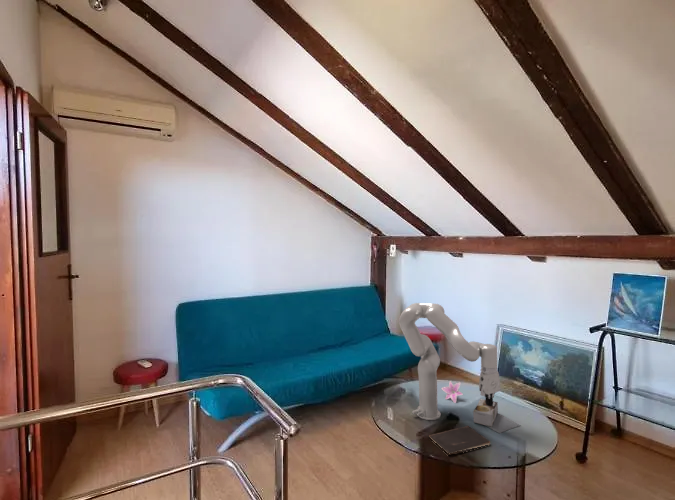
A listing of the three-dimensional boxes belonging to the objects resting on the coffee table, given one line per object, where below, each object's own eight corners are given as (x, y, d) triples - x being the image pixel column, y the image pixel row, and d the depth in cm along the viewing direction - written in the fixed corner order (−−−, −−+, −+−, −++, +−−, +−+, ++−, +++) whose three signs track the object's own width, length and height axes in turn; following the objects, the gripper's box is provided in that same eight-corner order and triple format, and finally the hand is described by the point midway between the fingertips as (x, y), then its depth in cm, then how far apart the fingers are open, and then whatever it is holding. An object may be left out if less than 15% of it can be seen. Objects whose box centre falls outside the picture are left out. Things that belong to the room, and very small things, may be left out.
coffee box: (492, 427, 189) (498, 413, 202) (491, 414, 189) (498, 401, 202) (473, 422, 194) (480, 409, 207) (472, 410, 194) (480, 398, 207)
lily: (440, 396, 228) (437, 385, 224) (456, 386, 231) (453, 375, 226) (452, 410, 218) (450, 399, 214) (469, 400, 220) (467, 389, 216)
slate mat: (499, 433, 184) (499, 432, 184) (477, 420, 197) (477, 419, 197) (520, 425, 191) (520, 425, 191) (497, 413, 203) (497, 413, 203)
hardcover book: (490, 446, 174) (490, 441, 174) (448, 458, 167) (448, 452, 167) (467, 429, 190) (467, 425, 189) (428, 439, 182) (428, 434, 182)
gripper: (483, 374, 183) (484, 411, 184) (505, 369, 189) (505, 404, 190) (472, 369, 189) (472, 405, 190) (493, 364, 196) (493, 398, 197)
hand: (489, 405), depth 190 cm, fingers closed
